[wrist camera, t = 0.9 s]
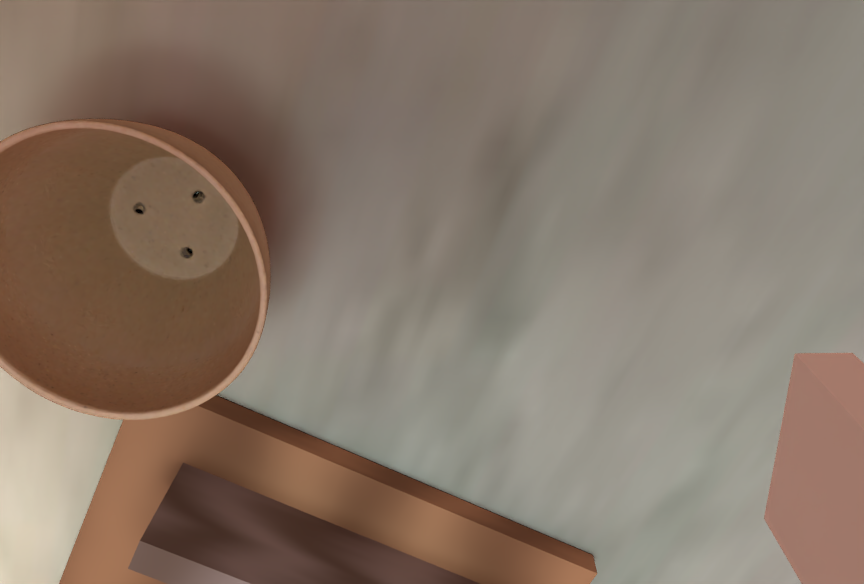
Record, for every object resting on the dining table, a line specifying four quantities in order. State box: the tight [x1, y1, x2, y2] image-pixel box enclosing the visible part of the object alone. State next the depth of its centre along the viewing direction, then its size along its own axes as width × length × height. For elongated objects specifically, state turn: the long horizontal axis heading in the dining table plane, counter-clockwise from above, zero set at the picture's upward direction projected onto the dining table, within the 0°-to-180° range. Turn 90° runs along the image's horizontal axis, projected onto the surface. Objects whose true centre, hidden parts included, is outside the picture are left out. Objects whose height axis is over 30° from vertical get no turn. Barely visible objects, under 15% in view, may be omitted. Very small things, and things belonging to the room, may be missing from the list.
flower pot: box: [0, 119, 270, 420], centre depth 27 cm, size 10×10×7 cm
